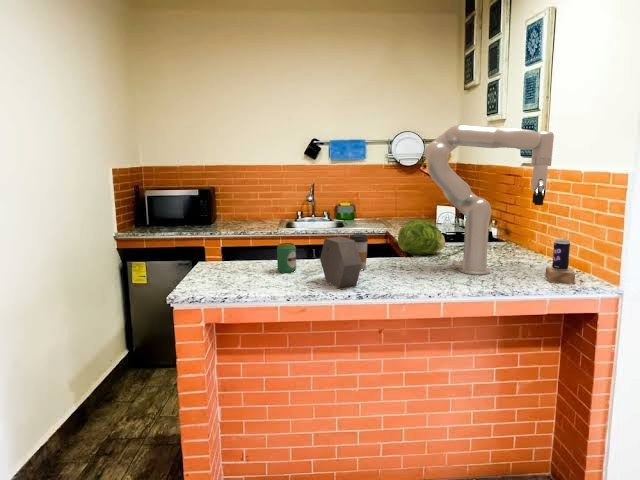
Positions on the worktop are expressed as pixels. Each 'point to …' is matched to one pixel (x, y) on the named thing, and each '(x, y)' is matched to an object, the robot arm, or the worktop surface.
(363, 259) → the coffee cup
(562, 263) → the beverage can
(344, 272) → the dark hexagonal prism
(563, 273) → the plinth
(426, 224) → the lettuce
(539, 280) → the worktop surface
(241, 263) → the worktop surface
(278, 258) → the beverage can
